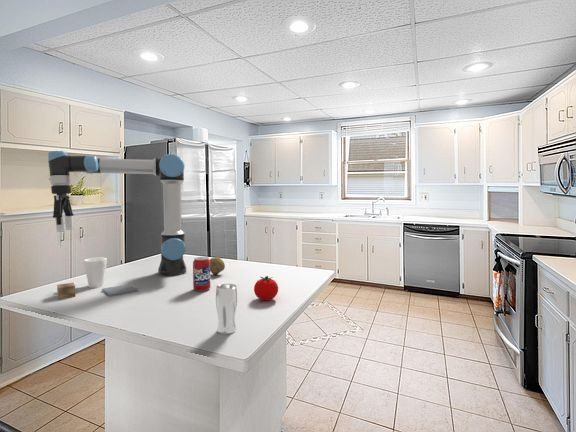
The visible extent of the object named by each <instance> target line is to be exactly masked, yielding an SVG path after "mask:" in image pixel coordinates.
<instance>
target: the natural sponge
mask: <svg viewBox="0 0 576 432" xmlns="http://www.w3.org/2000/svg"><path fill="white" fill-rule="evenodd" d="M209 260H210V274H212V275H213V276H217V275H218V274H220V273H221V272H223V271H224V270H225V268H226V264H225V263H224V260H223V259H222V258H221V257H219V256H214V257H211V258H210V259H209Z"/></svg>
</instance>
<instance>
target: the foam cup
mask: <svg viewBox="0 0 576 432" xmlns="http://www.w3.org/2000/svg"><path fill="white" fill-rule="evenodd" d="M107 259H108V258H106V257H102V256H101V257H99V256H98V257H89V258H85V259H84V260H83V265H84V268H85V274H86V279H87V285H88V287H89V288H91V289H95V288H96V289H97V288H101V287H104V286H105V280H106V270H107V264H108V260H107Z"/></svg>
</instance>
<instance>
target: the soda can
mask: <svg viewBox="0 0 576 432" xmlns="http://www.w3.org/2000/svg"><path fill="white" fill-rule="evenodd" d="M192 288H193V290H194V291H196V292H206V291H208V290H210V289H211V271H210V259H209V257H207V256H198V257H194V260H193V261H192Z"/></svg>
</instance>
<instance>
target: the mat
mask: <svg viewBox="0 0 576 432" xmlns="http://www.w3.org/2000/svg"><path fill="white" fill-rule="evenodd" d="M101 291H102V292H104V293H105V294H106V295H107V296H109V297H114V296H119V295H124V294H130V293H131V294H132V293H134V292H136V293H137V292H139V289H138V288H137V287H135V286H134V285H132V284H130V283H128V284H121V285H116V286H110V287H106V288H105V287H103V288H102V289H101Z"/></svg>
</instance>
